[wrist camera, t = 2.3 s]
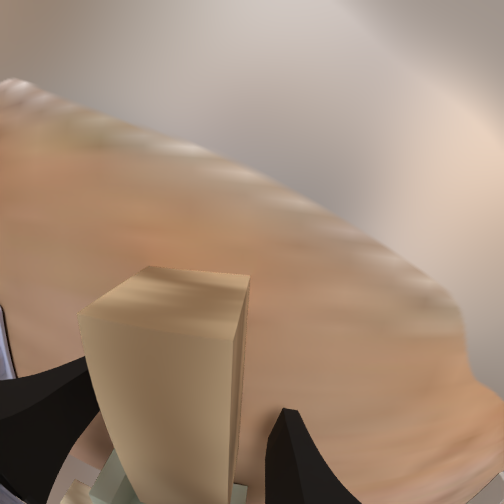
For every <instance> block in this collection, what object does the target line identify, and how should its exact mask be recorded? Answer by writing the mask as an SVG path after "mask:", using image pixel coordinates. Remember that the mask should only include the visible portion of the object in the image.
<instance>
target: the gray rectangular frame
mask: <svg viewBox="0 0 504 504" xmlns="http://www.w3.org/2000/svg"><path fill="white" fill-rule="evenodd" d="M503 501H504V471H503V472H501V473H499V474H498V475H497V476H496V477H495V478H494V479H493V480H492V481H491V482H490V483H489V484H488V485H487V486H486V487H484V488H483V489H482V490H481V491H480V492H479V493H478V494H477V495H476V496H475V497H473V498H472V499H471V500H470V501H469V502H468V503H466V504H501V503H502V502H503Z"/></svg>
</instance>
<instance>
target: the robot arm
mask: <svg viewBox="0 0 504 504" xmlns="http://www.w3.org/2000/svg"><path fill="white" fill-rule="evenodd" d="M99 411H100V407H99V404H98V401H97V398H96V395H95V391H94V388H93V385H92V381H91V377H90V374H89V370H88V366H87V362H86V358H85V356H84V357H81V358H79V359H77V360H74V361H72V362H69V363H67V364H64V365H62V366H59V367H56V368H54V369H51V370H48V371H45V372H42V373H38V374H35V375H31V376H26V377H21V378H16V377H15V373H14V369H13V365H12V361H11V357H10V353H9V348H8V343H7V338H6V333H5V327H4V321H3V314H2V309H1V306H0V504H24V503H23V502H22V501H24V502H25V503H27V504H46V503H47V500H48V497H49V494H50V491H51V489H52V486H53V484H54V482H55V479H56V477H57V475H58V473H59V471H60V469H61V467H62V465H63V463H64V461H65V459H66V457H67V455H68V454H69V452H70V450H71V448H72V447H73V445H74V444H75V442H76V441H77V439H78V438H79V437H80V435H81V434H82V433H83V431H84V430H85V429H86V428H87V426H88V425H89V424H90V422H91V421H92V420H93V419H94V417H95V416H96V415H97V413H98V412H99ZM16 496H17V497H18V498H20V499H21V500H22V501H20V500H19V499H18V498H17V497H16ZM265 504H362V503H361V502H359V501H358V500H357V499H356V498H355V497H354V496H353V495H352V494H351V493H350V492H349V491H348V490H347V489H346V488H345V487H344V486H343V485H342V483H341V482H340V481H339V480H338V479H337V477H336V476H335V475H334V474H333V472H332V471H331V469H330V468H329V467H328V465H327V464H326V462H325V461H324V459H323V457H322V456H321V454H320V453H319V451H318V449H317V447H316V446H315V444H314V442H313V440H312V438H311V436H310V434H309V432H308V430H307V428H306V426H305V424H304V422H303V420H302V418H301V416H300V414H299V412H298V410H292V409H286V408H283V409H282V411H281V413H280V415H279V417H278V419H277V421H276V423H275V425H274V427H273V429H272V431H271V433H270V435H269V437H268V442H267V449H266V457H265Z"/></svg>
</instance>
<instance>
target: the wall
mask: <svg viewBox="0 0 504 504" xmlns="http://www.w3.org/2000/svg"><path fill="white" fill-rule="evenodd" d="M90 490H91V487H89V486H87V485H85V484H84V483H82V482H80V481H78V480H76V479H75V480H74V482H73V483H72V485H71V486H70V488H69V489H68V491H67V493H66V494H65V496H64V498H63V499H62V501H61V502H60V504H93V502H92V500H91V498H90V496H89V494H88V493H89V492H90Z"/></svg>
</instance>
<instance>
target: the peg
mask: <svg viewBox="0 0 504 504" xmlns="http://www.w3.org/2000/svg"><path fill="white" fill-rule="evenodd" d="M249 287H250V275H239V274H228V273H217V272H206V271H195V270H185V269H175V268H165V267H156V266H148V267H146V268H145V269H143V270H142V271H140V272H138V273H137V274H135V275H134V276H132V277H131V278H129V279H128V280H126V281H125V282H123V283H121V284H120V285H118V286H117V287H115V288H114V289H112V290H111V291H109V292H108V293H106V294H105V295H103V296H102V297H100V298H99V299H97V300H96V301H94V302H93V303H91V304H90V305H88V306H87V307H85V308H84V309H82V310H81V311H80V312H78V313H77V318H78V324H79V330H80V335H81V340H82V344H83V349H84V353H85V358H86V362H87V366H88V370H89V374H90V377H91V381H92V385H93V388H94V391H95V395H96V398H97V401H98V404H99V407H100V410H101V413H102V416H103V419H104V422H105V425H106V428H107V430H108V433H109V435H110V438H111V441H112V443H113V446H114V448H115V450H116V453H117V455H118V457H119V460H120V462H121V464H122V466H123V469H124V471H125V473H126V475H127V477H128V479H129V481H130V483H131V485H132V487H133V489H134V491H135V493H136V495H137V497H138V498H139V500H140V502H143V503H146V504H230V501H231V494H232V488H233V481H234V475H235V468H236V462H237V455H238V447H239V432H240V418H241V403H242V389H243V374H244V360H245V345H246V331H247V316H248V302H249Z"/></svg>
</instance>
